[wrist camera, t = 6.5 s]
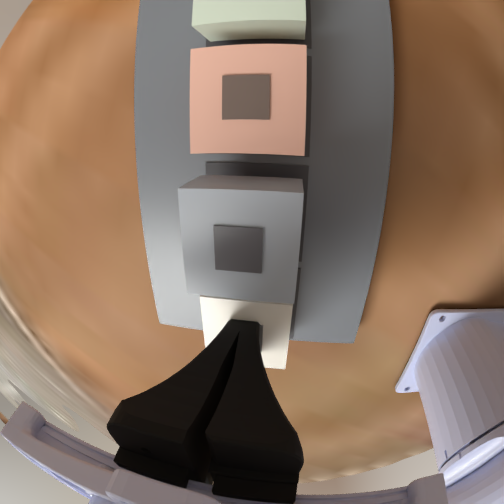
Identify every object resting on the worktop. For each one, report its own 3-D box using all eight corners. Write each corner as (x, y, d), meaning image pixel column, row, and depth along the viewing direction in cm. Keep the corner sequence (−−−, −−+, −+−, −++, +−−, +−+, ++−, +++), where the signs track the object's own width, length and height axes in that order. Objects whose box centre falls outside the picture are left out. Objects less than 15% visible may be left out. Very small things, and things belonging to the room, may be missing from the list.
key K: (302, 178, 11) (303, 193, 8) (295, 271, 12) (294, 305, 10) (200, 175, 11) (176, 189, 9) (205, 264, 13) (186, 294, 11)
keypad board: (379, -12, 8) (386, -22, 7) (351, 330, 17) (354, 344, 16) (151, -6, 10) (141, -14, 9) (166, 312, 18) (159, 324, 17)
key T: (304, 60, 10) (306, 44, 7) (302, 150, 11) (304, 156, 9) (209, 61, 10) (189, 48, 8) (209, 148, 12) (189, 154, 10)
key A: (294, 276, 14) (292, 307, 12) (287, 338, 16) (285, 370, 13) (214, 270, 14) (198, 297, 12) (218, 330, 16) (206, 361, 14)
